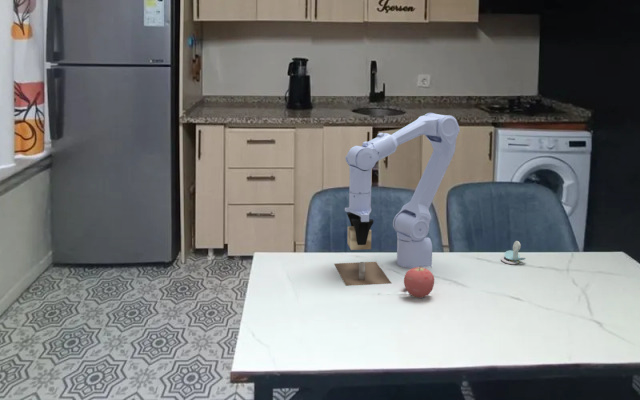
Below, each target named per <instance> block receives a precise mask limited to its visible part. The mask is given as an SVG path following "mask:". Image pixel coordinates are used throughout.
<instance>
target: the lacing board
mask: <svg viewBox="0 0 640 400" xmlns="http://www.w3.org/2000/svg"><path fill="white" fill-rule="evenodd" d="M333 264H334V266H335V269H336V270H337V272H338V273H339V276H340V278H341V279H342V281H343V283H344V285H345V287H347V286H366V285H367V286H368V285H385V284H386V285H388V284H392V282H391V280H390V279H389V278H388V276H387V275H386V274H385V272H384V271H383V269H382V268H381V267H380V265H379V263H378V262H377V261H360V262H344V263H343V262H342V263H341V262H339V263H333Z"/></svg>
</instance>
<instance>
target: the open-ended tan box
mask: <svg viewBox="0 0 640 400" xmlns="http://www.w3.org/2000/svg"><path fill="white" fill-rule="evenodd" d="M347 246H348V247H349V249H350V251H353V250H354V251H357V250H358V251H359V250H360V251H361V250H372V229H370V230H369V233H368V238H367V242H366V245H358V244H357V240H356V232H355V228H354V226H351V225H350V226H347Z"/></svg>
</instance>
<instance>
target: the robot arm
mask: <svg viewBox="0 0 640 400" xmlns="http://www.w3.org/2000/svg"><path fill="white" fill-rule="evenodd" d="M460 131H461V129H460V125H459V123H458V120H457V119H456V118H455V117H454V116H453V115H450V114H448V115H446V114H438V113H434V112H427V113H426V114H424V115H420V116H419V117H418V118H417V119H416V120H414V121H413V122H410V123H409V124H407V125H406V126H404V127H402V128H400V129H399V130H397V131H395V132H394V133H391V134H390V133H387V132H385V133H383V132H379V133H377V135H376V137H375V138H372V139H370V140H368V141H363V142H362V145H361V146H360V145H354V146H353V147H350V148H349V151H348V152H347V154H346V156H345V157H344V158H345V162H346V164H347V165H348V167H349V168H348V169H349V183H348V185H349V189H348V190H349V192H348V194H349V195H348V196H349V198H348V199H349V201H348V206H347V207H344V212H346V215H347V217H348V220H349V222H350V226H354V228H355V232H356V240H357V244H358V245H366V242H367V238H368V233H369V230H371V228H372V226H373V224H374V222H375V221H374V219H373V218H370V214H371V213H372V207H371V206H372V169H374V167H375V166H376V163H377V162H379V161H380V160H383V159H385V158H387V157H388V156H391V155H392V154H394V153H396V151H397V148H398V146H400V145H402V144H404V143H407V142H409V141H411V140H413V139H415V138H418V137H420V136H425V138H426V139H427V140H428V141H429V142H430V144H431V147H432V149H433V150H432V153H431V156H430V158H429V160H428V162H427V164H426V166H425V168H424V170H423V172H422V175H421V177H420V179H419V181H418V184H417V185H416V188H415V190H414V192H413V194H412V197H411V199H410V201H409V202H407V203H405V204H404V205H402V207H401V209H400V211H399V212H397V213H396V215H395V216H394V218H393V220H392V227H393V229H394V231H395V232H396V236H397V237H396V238H397V239H396V240H397V243H396V248H397V249H396V265H397V266H399V267H402V268H409V269H412V268H416V267H420V266H421V268H425V267H431V269H432V267H433V266H432V265H433V244H432V243H433V242H432V240H431V238H430V237H428V234H429V230H430V223H431V221H432V215H431V212H430V210H429V209H430V208H431V205H432V203H433V200H434V198H435V197H436V194H437V192H438V190H439V188H440V186H441V183H442V180H443V179H444V176H445V175H446V172H447V170H448V168H449V166H450V164H451V161H452V160H453V156H454V154H455V152H456V146H457V137H458V135H459V133H460Z"/></svg>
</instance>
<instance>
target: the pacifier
mask: <svg viewBox="0 0 640 400" xmlns="http://www.w3.org/2000/svg"><path fill="white" fill-rule="evenodd" d="M521 247H522V245H521V243H520V241H518V240H515V241H514V242H513V245H512V249H511V250H510V249H509V250H506V251H505V252H504V256H501V258H500V260H501V261H502V262H503V263H505V264H508V265H516V264H519V263H520V261H524V260H526V257H520V254H519V251H520V250H521Z"/></svg>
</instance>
